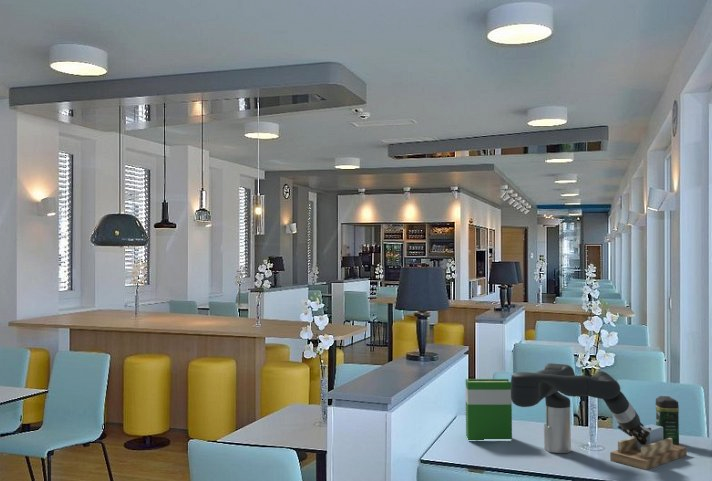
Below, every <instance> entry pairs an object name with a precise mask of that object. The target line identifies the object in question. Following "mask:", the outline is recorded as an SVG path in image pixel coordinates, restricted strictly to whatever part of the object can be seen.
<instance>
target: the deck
mask: <svg viewBox="0 0 712 481" xmlns="http://www.w3.org/2000/svg"><path fill="white" fill-rule="evenodd" d="M687 452H688V451H687V447H686V446H682V445H674V444H673V443H672V438H667V439H664V440H661V441H658V442H655V443H651V444H648V445H645V446H642V447H641V450H638V440H637V439H636V438H634V437H633V436H632V437H629V438H625V439H623V440H619V441H617V450H613V451H611V452H609V454H610V462H614V463H618V464H621V465H627V466H630V467H633V468H638V469H642V470H646V471H647V470H649V468H650V469H653V468H655V467H657V466H661V465H663V464H667V463H669V462H672V461H674V460H678V459H681V458H683V457H686V456H687V455H688V454H687ZM652 467H653V468H652Z"/></svg>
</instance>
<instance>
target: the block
mask: <svg viewBox="0 0 712 481" xmlns="http://www.w3.org/2000/svg"><path fill="white" fill-rule="evenodd" d="M644 427H645V428H648V427H649V428H651V431H650V434H649V435H648V437H647V438H646V439H647V441H646V444H645V445H648V444H651V443H655V442H658V441H661V440H663V427H661V426H657V425H656V424H651V423H650V424H647V425H644ZM643 433H644V432H643ZM645 445H643V444H640V443H639V442H638V450H641V447H642V446H645Z"/></svg>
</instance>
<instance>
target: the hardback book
mask: <svg viewBox="0 0 712 481" xmlns="http://www.w3.org/2000/svg"><path fill="white" fill-rule="evenodd" d="M512 404H513V402H512V400H511V381H509V378H465V437H466V436H467V438H468V440H484V439H512V440H513V422H512V421H513V419H512V418H513V417H512V416H513V414H512V413H513V412H512V411H513V409H512V407H513V405H512ZM467 438H466V439H467ZM468 440H467V441H468Z"/></svg>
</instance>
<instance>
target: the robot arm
mask: <svg viewBox="0 0 712 481" xmlns="http://www.w3.org/2000/svg"><path fill="white" fill-rule="evenodd" d="M510 382H511V400H512V404H514V405H515V406H517V407H521V408H531V407H533V406H536V405H538V404H539V403H540V402H541V401H542V400H543V399H544V398H545V399H544V400H545V423H544V425H543V426H544V427H543V432H544V435H543V436H544V444H543V445H544V449H545V450H546V451H547V452H548V453H554V454H567V453H571V452H572V438H571V436H572V434H571V433H572V432H571V430H572V429H571V424H572V423H571V422H572V421H571V417H572V416H571V399H570V398H569V397H571V398H572V397H573V398H575V397H590V398H595V399H600V400H601V399H602V400H603V401H604V402H605V405H606V407H607V408H608V409H609V411H610V412H611V415H612V417H613V418H614V420H615V421H616V423H617V424H618V425H617V429H619V430H620V431H621V432H624V433H625V434H626V435H628V436H629V437H630V438H632V437H634V438H636V439H637V440H638V442H639V443H640V444H643V445H645V444H646V441H647V439H646V438H647V437H648V435H649V434H650V431H651V428H649V427H648V428H645V427H644V426H645V425H644V424H643V423H642V422H641V417H640V416H639V414H638V412H637V411H636V409H635V408H634V406H633V405H632V403H631V402H629V400H628V399H627V397H626V396H625V394H624V393H623V392H622V390H621V385H620V384H619V382H618V381H617V380H616V379H615V378H613V377H612V375H610V374H609V373H608V372H605V371H601V370H600V371H596V372H595V373H593V375H592V377H591V376H589V375H583V374H582V375H576V374H575V370H574V369H573V367H572V366H571V365H568V364H563V363H552V362H551V363H550V362H549V363H547V364H546V365H545V366H544V369H541V370H538V371H536V372H527V371H526V372H525V371H523V372H522V371H521V372H516V373H515V372H514V373H513V374H512V375H511V377H510ZM567 396H568V397H567ZM643 432H644V433H643Z"/></svg>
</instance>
